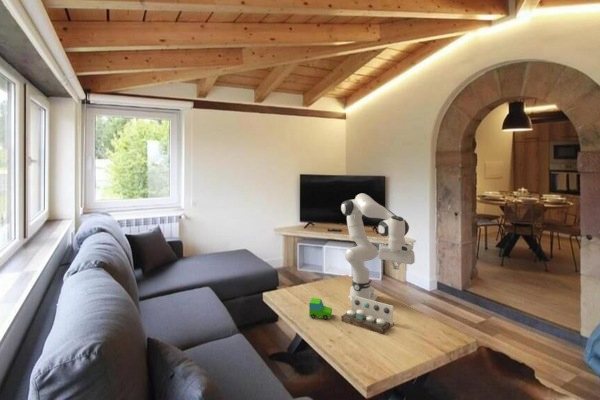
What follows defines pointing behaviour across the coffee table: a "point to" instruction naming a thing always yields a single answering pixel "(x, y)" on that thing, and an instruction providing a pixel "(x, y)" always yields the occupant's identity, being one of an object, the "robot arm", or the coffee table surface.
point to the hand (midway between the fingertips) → (395, 269)
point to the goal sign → (373, 308)
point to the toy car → (319, 309)
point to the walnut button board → (365, 324)
